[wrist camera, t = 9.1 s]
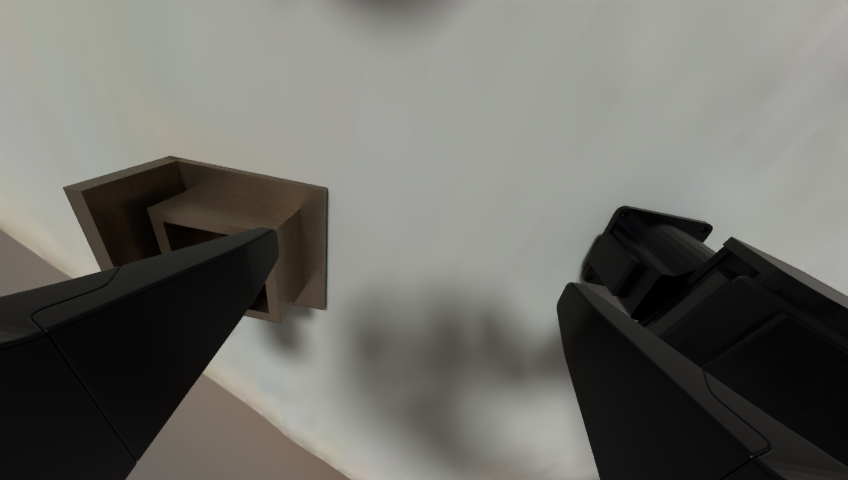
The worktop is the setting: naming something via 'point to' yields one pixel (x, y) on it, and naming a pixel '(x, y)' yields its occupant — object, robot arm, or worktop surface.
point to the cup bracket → (208, 222)
